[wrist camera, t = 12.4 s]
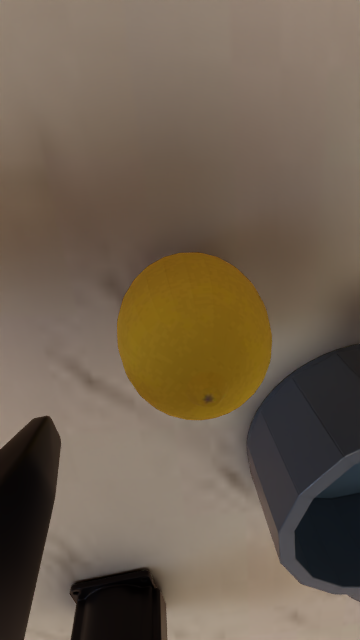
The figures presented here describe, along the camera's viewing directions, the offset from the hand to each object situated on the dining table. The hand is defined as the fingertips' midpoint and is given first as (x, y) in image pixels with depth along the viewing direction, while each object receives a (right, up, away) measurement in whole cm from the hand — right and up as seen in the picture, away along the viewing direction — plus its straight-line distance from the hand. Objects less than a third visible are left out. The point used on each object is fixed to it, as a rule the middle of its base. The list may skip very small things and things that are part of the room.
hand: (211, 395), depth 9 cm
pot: (+10, -5, +12) cm, 17 cm away
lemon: (-1, +4, +7) cm, 8 cm away
